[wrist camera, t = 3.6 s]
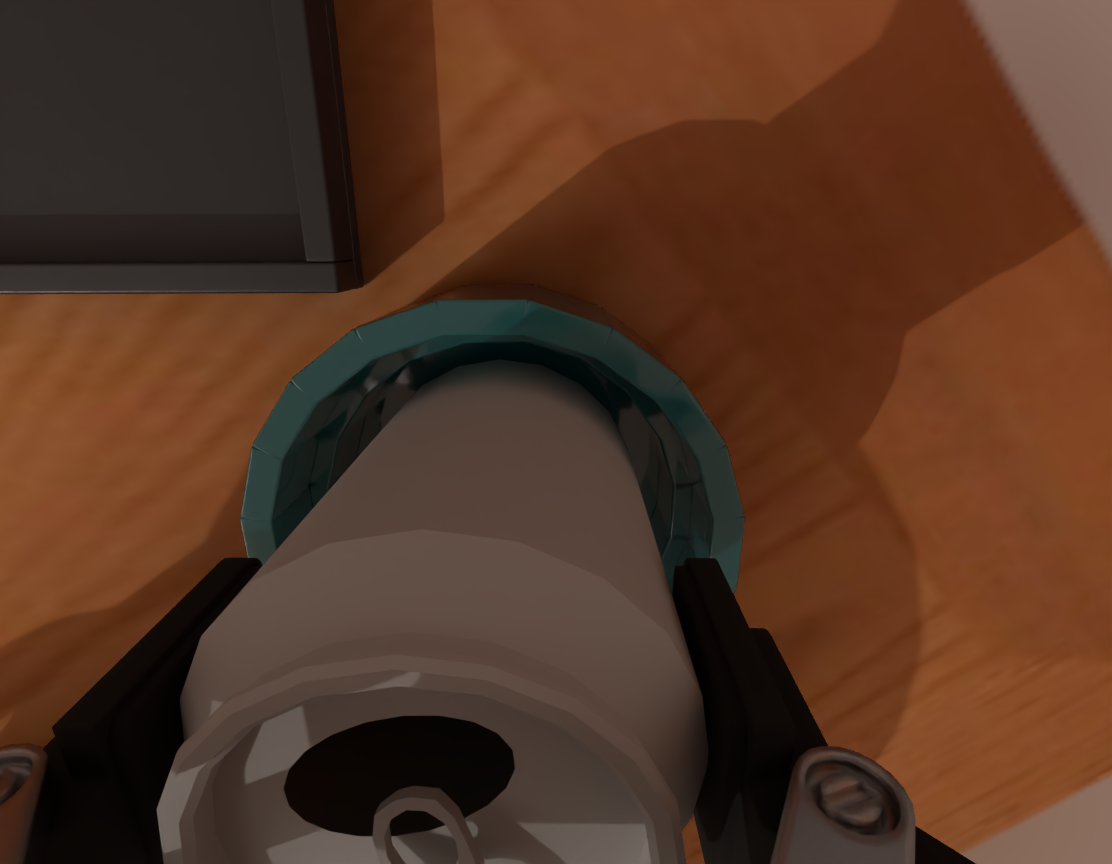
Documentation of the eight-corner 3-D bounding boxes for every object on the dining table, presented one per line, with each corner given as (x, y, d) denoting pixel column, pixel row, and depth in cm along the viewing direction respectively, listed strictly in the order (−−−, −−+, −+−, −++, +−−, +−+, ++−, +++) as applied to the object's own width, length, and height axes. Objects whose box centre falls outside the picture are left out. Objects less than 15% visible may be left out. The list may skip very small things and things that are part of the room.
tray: (-296, -324, 13) (-449, -424, 11) (298, -329, 13) (251, -432, 11) (-83, 288, 17) (-166, 294, 15) (364, 286, 17) (339, 293, 15)
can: (585, 317, 16) (642, 525, 5) (656, 537, 19) (804, 1017, 7) (346, 399, 17) (-70, 734, 6) (443, 599, 19) (281, 1113, 8)
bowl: (294, 284, 17) (195, 300, 13) (712, 282, 17) (770, 298, 13) (345, 632, 21) (284, 745, 17) (684, 632, 21) (720, 745, 17)
